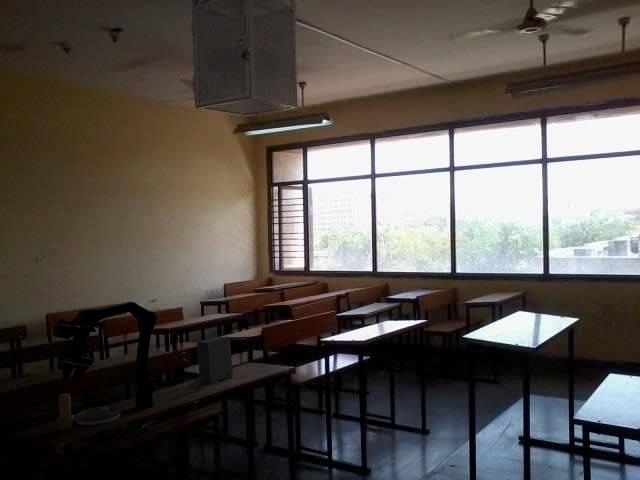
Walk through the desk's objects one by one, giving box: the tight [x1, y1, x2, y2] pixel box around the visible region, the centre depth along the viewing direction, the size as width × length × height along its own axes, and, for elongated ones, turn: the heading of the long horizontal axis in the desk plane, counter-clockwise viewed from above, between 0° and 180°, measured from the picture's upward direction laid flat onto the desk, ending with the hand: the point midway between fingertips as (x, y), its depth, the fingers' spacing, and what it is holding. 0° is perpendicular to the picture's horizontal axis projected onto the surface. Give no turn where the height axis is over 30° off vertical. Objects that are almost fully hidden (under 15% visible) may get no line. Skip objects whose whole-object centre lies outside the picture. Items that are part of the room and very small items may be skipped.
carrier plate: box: [75, 405, 121, 426], centre depth 237 cm, size 16×16×3 cm
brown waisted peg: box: [56, 393, 75, 431], centre depth 226 cm, size 6×6×12 cm
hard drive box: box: [196, 336, 234, 385], centre depth 295 cm, size 16×8×20 cm, turn 143°
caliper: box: [168, 376, 202, 401], centre depth 269 cm, size 20×1×6 cm, turn 151°
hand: (69, 382), depth 231 cm, fingers open, 9 cm apart
